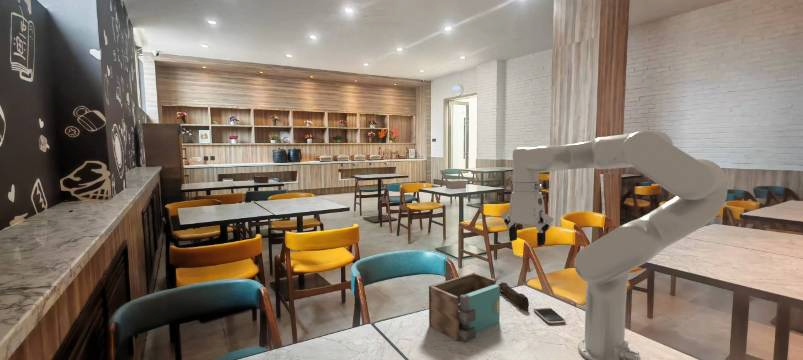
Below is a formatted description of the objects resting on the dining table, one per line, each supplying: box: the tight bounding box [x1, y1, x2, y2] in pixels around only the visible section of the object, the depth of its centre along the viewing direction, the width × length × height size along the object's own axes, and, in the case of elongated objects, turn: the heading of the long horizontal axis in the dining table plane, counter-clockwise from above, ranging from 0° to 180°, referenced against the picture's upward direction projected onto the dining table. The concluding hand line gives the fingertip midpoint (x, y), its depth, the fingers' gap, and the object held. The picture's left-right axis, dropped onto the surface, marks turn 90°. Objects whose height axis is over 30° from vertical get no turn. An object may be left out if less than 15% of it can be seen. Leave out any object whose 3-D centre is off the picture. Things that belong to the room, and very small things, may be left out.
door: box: [460, 283, 501, 333], centre depth 120 cm, size 3×16×12 cm, turn 127°
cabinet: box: [428, 272, 497, 343], centre depth 123 cm, size 14×21×13 cm
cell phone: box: [533, 307, 566, 325], centre depth 128 cm, size 6×11×1 cm, turn 7°
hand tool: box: [497, 282, 530, 312], centre depth 141 cm, size 19×4×5 cm, turn 10°
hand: (526, 242), depth 120 cm, fingers open, 9 cm apart
